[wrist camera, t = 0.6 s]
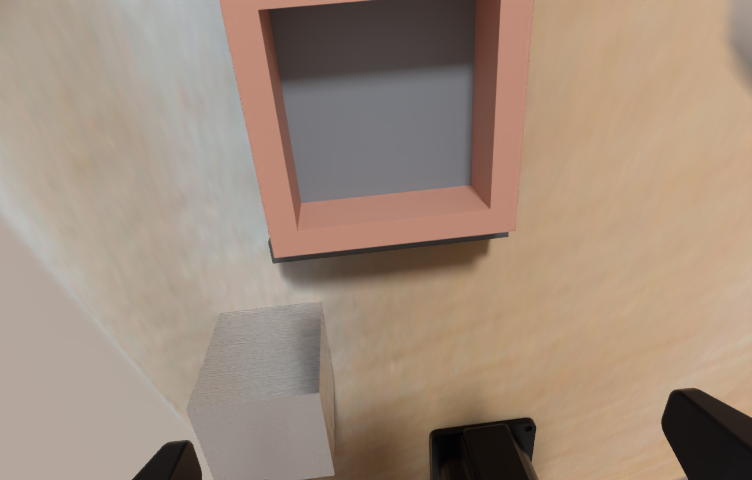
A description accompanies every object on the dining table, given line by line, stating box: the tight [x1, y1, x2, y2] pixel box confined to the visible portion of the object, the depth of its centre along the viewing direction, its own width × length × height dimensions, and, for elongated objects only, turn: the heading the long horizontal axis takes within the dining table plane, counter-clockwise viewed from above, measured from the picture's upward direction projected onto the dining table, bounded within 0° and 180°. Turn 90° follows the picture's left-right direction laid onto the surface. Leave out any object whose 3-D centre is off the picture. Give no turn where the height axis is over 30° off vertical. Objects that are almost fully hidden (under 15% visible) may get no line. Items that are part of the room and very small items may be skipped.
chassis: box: [219, 0, 534, 263], centre depth 16 cm, size 12×10×4 cm
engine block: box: [186, 301, 335, 480], centre depth 21 cm, size 5×5×6 cm
